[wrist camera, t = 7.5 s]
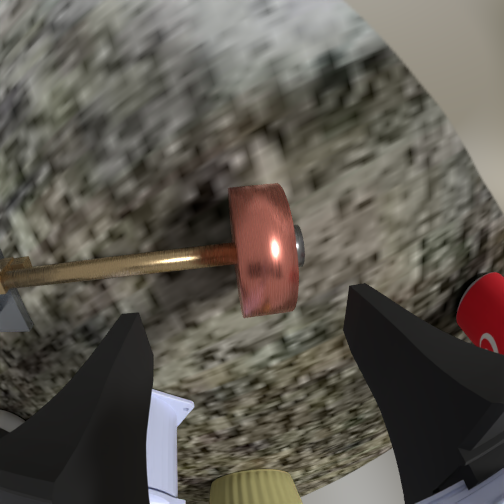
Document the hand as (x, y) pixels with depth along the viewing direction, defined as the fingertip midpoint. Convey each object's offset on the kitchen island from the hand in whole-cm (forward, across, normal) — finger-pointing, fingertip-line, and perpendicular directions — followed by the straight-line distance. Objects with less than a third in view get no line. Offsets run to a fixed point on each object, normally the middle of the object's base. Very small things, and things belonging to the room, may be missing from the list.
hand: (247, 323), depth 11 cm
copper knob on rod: (+8, +6, 0) cm, 10 cm away
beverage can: (+9, -22, +9) cm, 25 cm away
